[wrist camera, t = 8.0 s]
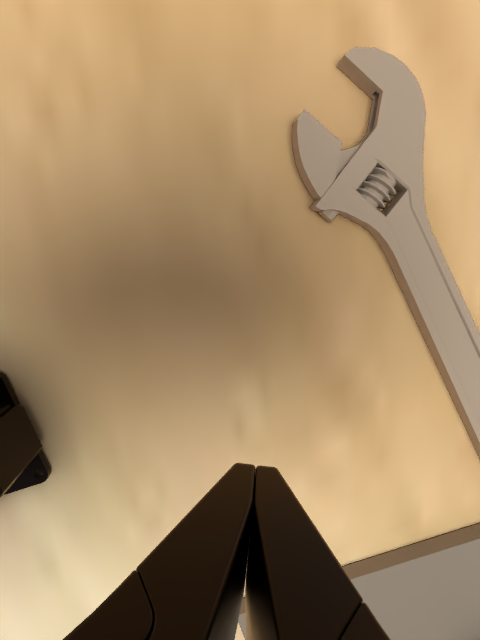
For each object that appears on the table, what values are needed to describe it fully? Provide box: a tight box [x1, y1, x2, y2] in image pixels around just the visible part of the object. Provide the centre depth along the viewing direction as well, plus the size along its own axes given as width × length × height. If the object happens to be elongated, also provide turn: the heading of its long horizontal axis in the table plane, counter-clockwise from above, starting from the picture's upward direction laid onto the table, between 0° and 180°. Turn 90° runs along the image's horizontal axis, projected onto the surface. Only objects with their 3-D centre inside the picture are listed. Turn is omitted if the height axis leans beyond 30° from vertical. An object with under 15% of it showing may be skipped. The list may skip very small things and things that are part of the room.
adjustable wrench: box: [292, 47, 480, 458], centre depth 21 cm, size 25×6×2 cm, turn 26°
